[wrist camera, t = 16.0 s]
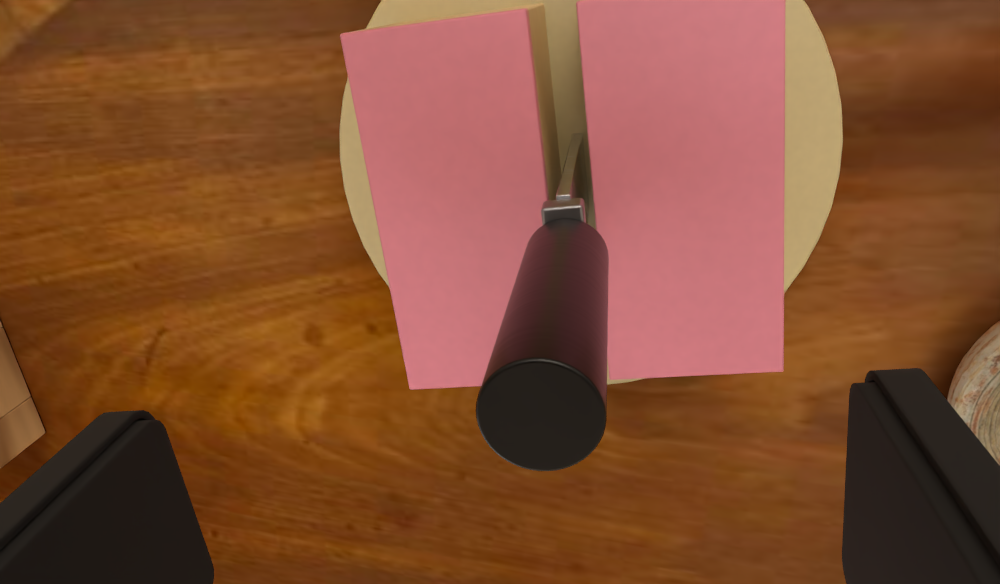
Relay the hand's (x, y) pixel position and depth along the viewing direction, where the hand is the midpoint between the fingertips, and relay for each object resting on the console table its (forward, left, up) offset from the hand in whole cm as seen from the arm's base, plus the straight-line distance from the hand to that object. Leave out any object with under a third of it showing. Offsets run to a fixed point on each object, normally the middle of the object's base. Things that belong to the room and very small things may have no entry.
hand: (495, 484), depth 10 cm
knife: (+1, 0, -20) cm, 20 cm away
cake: (0, 0, -21) cm, 21 cm away
